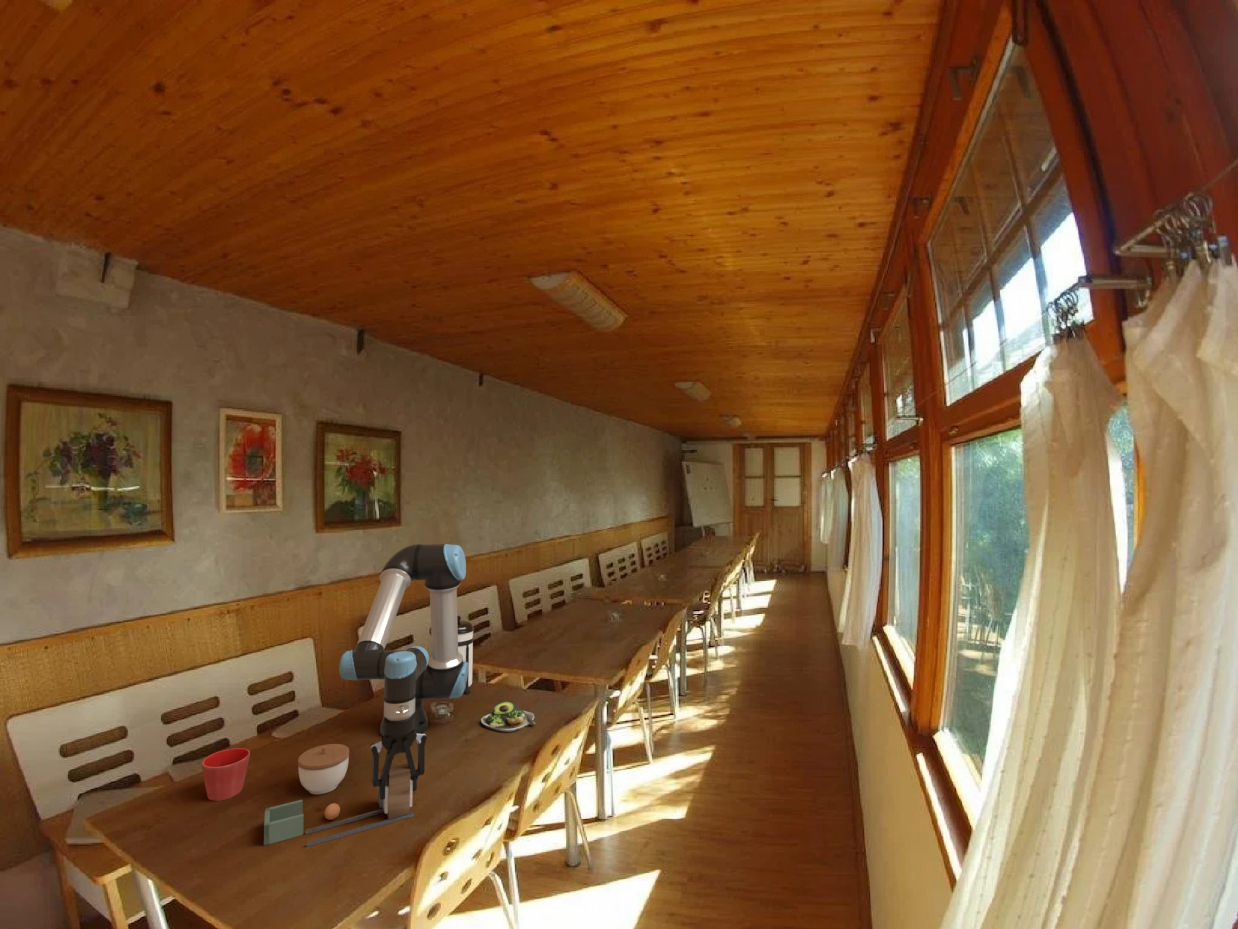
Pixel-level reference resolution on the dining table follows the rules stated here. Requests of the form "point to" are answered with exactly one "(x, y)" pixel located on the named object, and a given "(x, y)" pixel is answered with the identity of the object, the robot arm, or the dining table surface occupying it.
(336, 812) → the brown egg
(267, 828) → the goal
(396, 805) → the brown boxy piece
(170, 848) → the dining table surface
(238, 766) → the flower pot
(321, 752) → the lidded bowl
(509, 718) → the avocado toast plate
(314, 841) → the guide rails
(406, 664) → the robot arm
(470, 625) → the coffee press
